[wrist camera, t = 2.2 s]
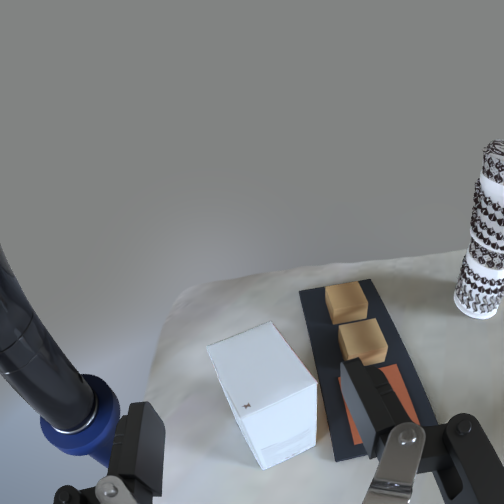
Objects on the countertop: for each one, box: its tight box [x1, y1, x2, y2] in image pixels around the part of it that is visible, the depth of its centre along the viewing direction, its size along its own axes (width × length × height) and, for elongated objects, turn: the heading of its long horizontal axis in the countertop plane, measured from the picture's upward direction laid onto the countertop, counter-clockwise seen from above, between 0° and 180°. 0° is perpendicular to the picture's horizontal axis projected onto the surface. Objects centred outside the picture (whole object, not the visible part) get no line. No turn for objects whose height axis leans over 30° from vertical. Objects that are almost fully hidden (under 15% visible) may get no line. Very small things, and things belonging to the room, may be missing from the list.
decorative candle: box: [454, 139, 504, 319], centre depth 33 cm, size 9×9×25 cm
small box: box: [207, 321, 317, 470], centre depth 26 cm, size 8×6×13 cm
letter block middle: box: [338, 318, 388, 366], centre depth 36 cm, size 5×5×3 cm
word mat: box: [299, 279, 438, 462], centre depth 37 cm, size 12×28×1 cm, turn 2°
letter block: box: [325, 281, 368, 325], centre depth 43 cm, size 5×5×3 cm
